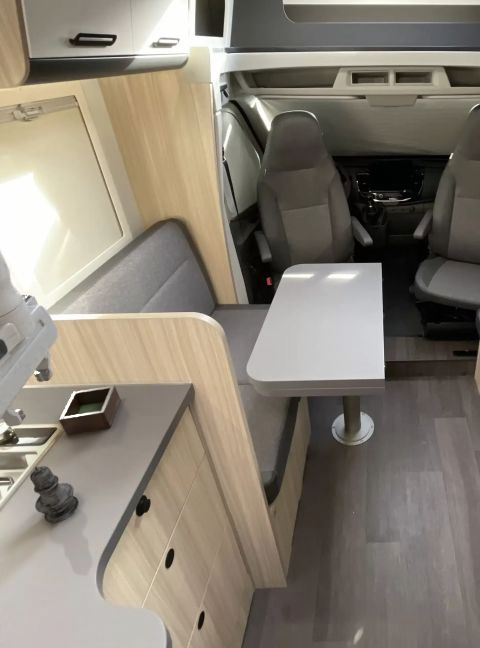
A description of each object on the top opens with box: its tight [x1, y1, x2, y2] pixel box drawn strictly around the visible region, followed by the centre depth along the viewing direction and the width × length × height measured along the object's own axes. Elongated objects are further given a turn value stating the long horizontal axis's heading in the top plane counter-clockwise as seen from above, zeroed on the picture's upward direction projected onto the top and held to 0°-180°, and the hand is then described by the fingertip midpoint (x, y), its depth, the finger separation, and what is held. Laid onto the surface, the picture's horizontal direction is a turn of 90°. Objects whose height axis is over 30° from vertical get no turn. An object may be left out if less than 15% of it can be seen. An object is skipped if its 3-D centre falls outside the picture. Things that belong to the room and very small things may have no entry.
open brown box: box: [58, 384, 122, 436], centre depth 100 cm, size 9×9×5 cm
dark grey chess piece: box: [29, 465, 79, 524], centre depth 79 cm, size 6×6×12 cm
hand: (32, 399), depth 68 cm, fingers open, 8 cm apart
